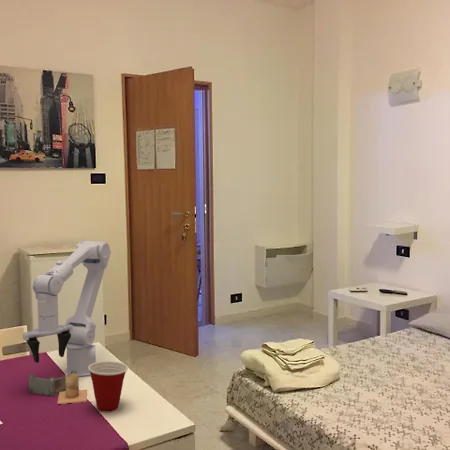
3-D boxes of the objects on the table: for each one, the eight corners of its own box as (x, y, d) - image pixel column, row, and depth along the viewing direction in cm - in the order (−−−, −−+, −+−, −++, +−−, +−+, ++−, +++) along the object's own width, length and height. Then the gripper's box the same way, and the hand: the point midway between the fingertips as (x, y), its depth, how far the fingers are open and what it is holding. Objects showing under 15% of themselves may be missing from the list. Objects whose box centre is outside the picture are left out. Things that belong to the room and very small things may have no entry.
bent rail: (76, 387, 160) (76, 370, 160) (76, 394, 155) (75, 377, 155) (29, 391, 157) (29, 374, 157) (27, 398, 152) (26, 381, 151)
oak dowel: (72, 392, 155) (72, 372, 155) (81, 395, 153) (81, 375, 153) (63, 396, 152) (62, 376, 151) (72, 399, 150) (71, 379, 150)
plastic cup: (134, 410, 144) (133, 368, 143) (95, 419, 139) (94, 375, 138) (120, 396, 154) (120, 356, 153) (84, 404, 148) (83, 363, 147)
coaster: (87, 391, 158) (87, 389, 157) (86, 402, 150) (86, 400, 150) (59, 393, 156) (59, 391, 156) (57, 404, 148) (57, 403, 148)
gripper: (65, 308, 164) (66, 350, 166) (18, 315, 155) (20, 360, 156) (75, 312, 159) (76, 356, 160) (27, 321, 150) (28, 367, 151)
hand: (49, 358), depth 158 cm, fingers open, 7 cm apart
